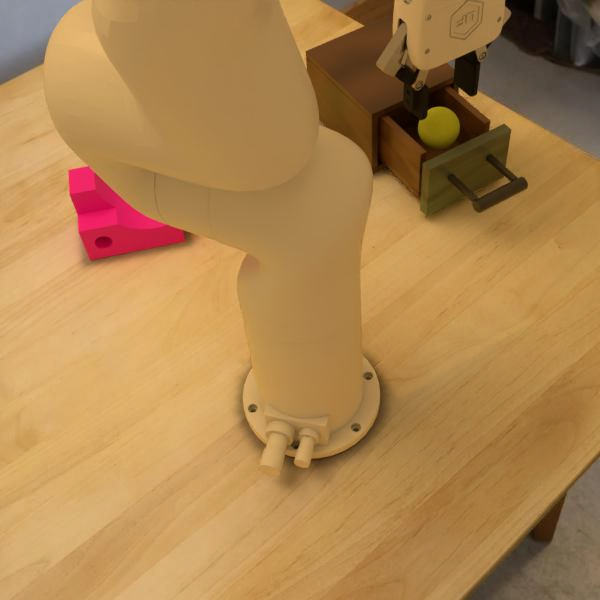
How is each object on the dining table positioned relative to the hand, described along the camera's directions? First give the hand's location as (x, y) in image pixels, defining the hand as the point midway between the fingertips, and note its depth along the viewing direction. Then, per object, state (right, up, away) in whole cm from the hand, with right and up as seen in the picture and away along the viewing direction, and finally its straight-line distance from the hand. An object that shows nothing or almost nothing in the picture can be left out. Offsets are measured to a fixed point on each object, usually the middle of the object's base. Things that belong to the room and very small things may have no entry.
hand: (440, 99), depth 88 cm
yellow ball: (0, -2, +3) cm, 4 cm away
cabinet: (-5, +1, +14) cm, 15 cm away
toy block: (-30, -13, +6) cm, 33 cm away
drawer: (+2, -7, +6) cm, 10 cm away
